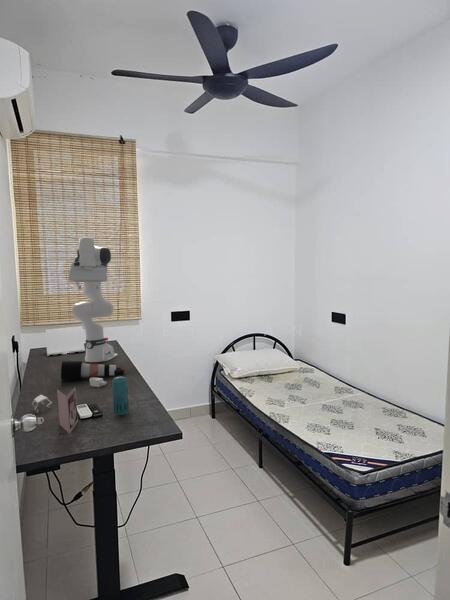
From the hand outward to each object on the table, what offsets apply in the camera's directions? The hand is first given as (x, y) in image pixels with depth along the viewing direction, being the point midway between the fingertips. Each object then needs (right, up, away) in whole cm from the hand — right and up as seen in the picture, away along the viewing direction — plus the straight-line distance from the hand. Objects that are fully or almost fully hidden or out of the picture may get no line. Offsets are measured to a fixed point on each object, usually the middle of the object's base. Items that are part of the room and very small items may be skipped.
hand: (88, 289), depth 221 cm
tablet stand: (-40, -44, +69) cm, 91 cm away
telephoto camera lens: (+1, -50, +6) cm, 50 cm away
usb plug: (+8, -51, -9) cm, 52 cm away
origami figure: (-9, -55, -38) cm, 67 cm away
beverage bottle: (+31, -55, -49) cm, 81 cm away
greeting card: (+12, -57, -61) cm, 84 cm away
